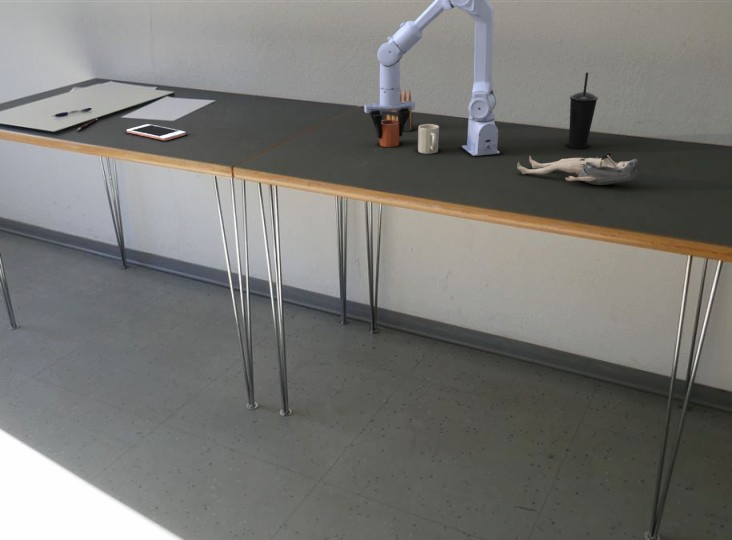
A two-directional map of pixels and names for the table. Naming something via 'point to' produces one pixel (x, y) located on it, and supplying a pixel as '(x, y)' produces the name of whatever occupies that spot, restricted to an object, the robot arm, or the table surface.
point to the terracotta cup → (389, 133)
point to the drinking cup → (581, 117)
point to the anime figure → (589, 169)
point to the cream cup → (428, 138)
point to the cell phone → (156, 132)
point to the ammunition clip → (393, 115)
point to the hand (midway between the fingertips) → (389, 136)
